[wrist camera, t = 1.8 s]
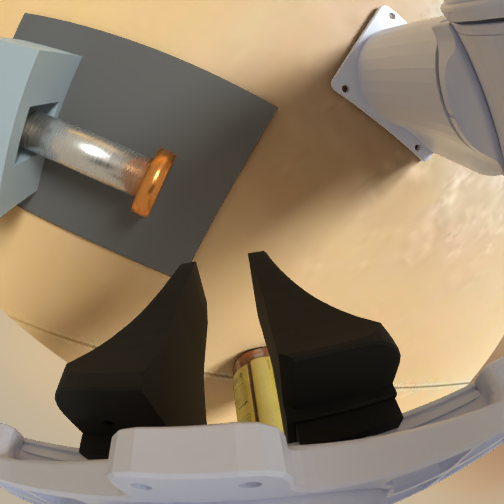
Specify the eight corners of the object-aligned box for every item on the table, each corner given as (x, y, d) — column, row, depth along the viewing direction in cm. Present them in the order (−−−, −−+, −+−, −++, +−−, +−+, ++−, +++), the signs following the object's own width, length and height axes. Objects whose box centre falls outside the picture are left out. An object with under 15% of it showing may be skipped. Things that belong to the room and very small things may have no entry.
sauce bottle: (251, 389, 31) (275, 565, 14) (219, 359, 28) (231, 569, 11) (307, 365, 30) (356, 549, 12) (280, 331, 27) (331, 557, 10)
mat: (276, 107, 18) (277, 107, 17) (181, 277, 23) (181, 280, 23) (27, 13, 11) (24, 13, 11) (-23, 181, 17) (-25, 182, 16)
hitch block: (85, 57, 14) (39, 50, 9) (40, 188, 18) (-4, 220, 13) (24, 40, 12) (-26, 35, 7) (-12, 163, 16) (-58, 188, 11)
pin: (180, 148, 18) (170, 163, 14) (155, 203, 19) (141, 230, 16) (40, 90, 14) (5, 95, 11) (23, 144, 16) (-10, 159, 12)
